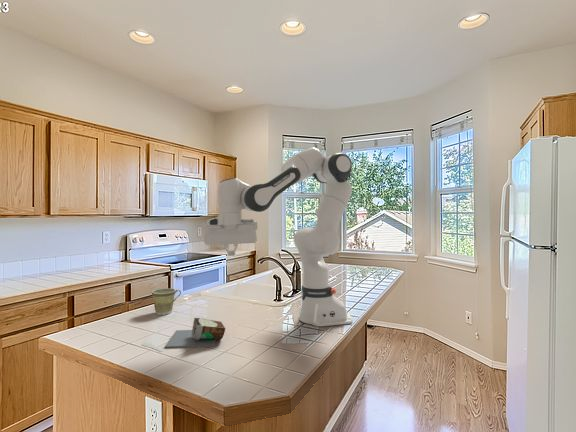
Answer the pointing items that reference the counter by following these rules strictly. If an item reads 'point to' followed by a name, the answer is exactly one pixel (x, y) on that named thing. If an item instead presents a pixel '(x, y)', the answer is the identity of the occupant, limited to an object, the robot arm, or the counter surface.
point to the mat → (187, 340)
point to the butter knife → (152, 346)
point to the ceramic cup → (164, 300)
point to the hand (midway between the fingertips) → (231, 255)
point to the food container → (207, 329)
